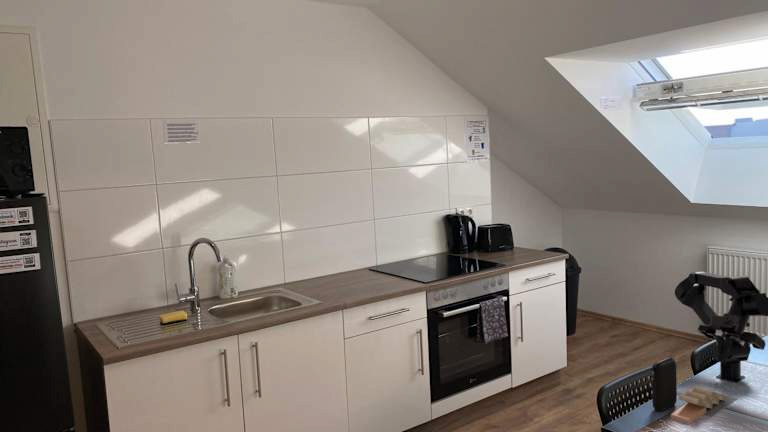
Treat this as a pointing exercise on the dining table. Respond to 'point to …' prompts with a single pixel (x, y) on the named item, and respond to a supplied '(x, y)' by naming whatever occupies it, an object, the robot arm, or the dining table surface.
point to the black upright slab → (664, 384)
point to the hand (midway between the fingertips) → (720, 361)
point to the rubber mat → (718, 406)
